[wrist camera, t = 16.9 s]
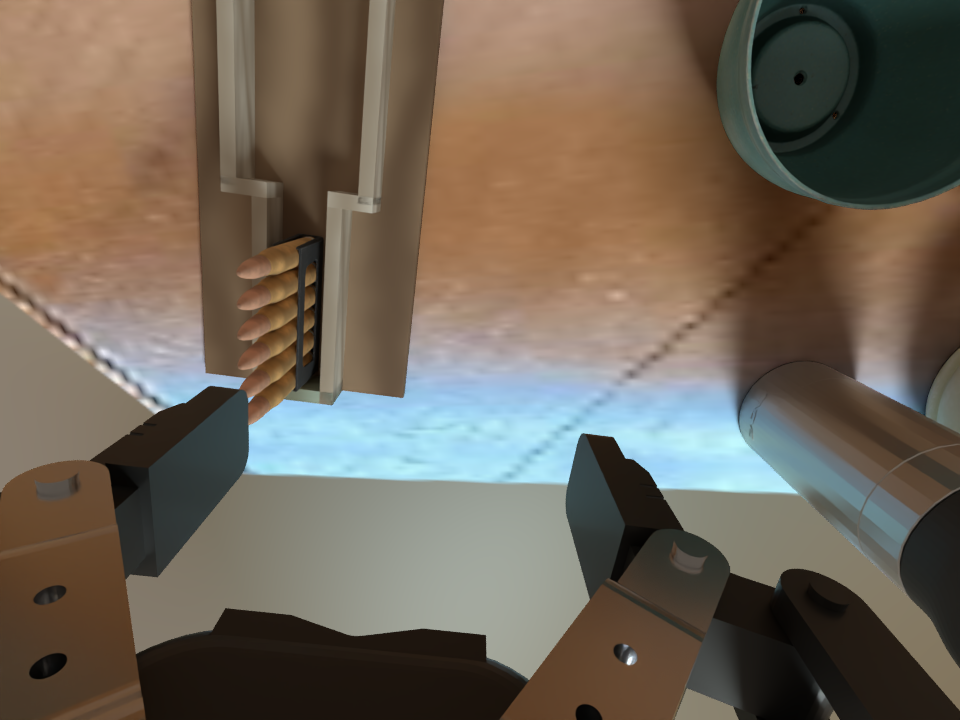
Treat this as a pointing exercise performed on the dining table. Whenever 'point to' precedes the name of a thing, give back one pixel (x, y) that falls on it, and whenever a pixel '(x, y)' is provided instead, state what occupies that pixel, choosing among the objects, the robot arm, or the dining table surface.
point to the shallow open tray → (316, 170)
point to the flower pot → (845, 97)
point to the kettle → (946, 395)
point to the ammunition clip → (281, 320)
